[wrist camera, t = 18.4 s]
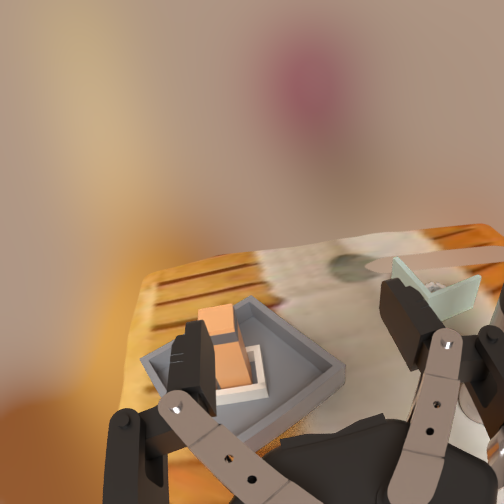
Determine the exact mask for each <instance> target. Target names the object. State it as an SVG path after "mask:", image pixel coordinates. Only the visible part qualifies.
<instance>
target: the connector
mask: <svg viewBox="0 0 504 504" xmlns="http://www.w3.org/2000/svg"><path fill="white" fill-rule="evenodd" d="M198 320H204V322H205V325H206V327H207V330H208V332H209V335H210V338H211V340H212V343H213V346H214V351H215V375H216V379H217V381H218V383H219V385H220V387H221V389H227V388H234V387H240V386H246V385H252V384H253V380H252V371H251V365H250V362H249V358H248V355H247V352H246V348H245V345H244V342H243V338H242V335H241V332H240V328H239V325H238V321H237V315H236V311H235V308H234V307H233V304H226V305H221V306H215V307H210V308H204V309H199V310H198Z"/></svg>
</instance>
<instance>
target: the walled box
mask: <svg viewBox="0 0 504 504" xmlns="http://www.w3.org/2000/svg"><path fill="white" fill-rule="evenodd" d="M233 307H234V308H235V311H236V315H237V321H238V325H239V328H240V332H241V335H242V338H243V342H244V345H245V348H246V352H247V355H248V358H249V362H250V365H251V371H252V380H253V384H252V385H246V386H240V387H234V388H227V389H221V387H220V385H219V383H218V381H217V379H216V410H217V417H212V418H213V419H214V420H215V421H216V422H217V423H219V424H222V425H224V426H225V427H226V428H227V429H228V430H230V431H231V432H232V433H233V434H234V435H235V436H236V437H237V438H238V439H240V440H241V441H242V442H243V443H244V444H245V445H246V446H248V447H249V448H250V449H251V450H252V451H253V452H256V451H258V450H259V449H261V448H262V447H264V446H265V445H267V444H268V443H269V442H271V441H272V440H274V439H275V438H276V437H278V436H279V435H281V434H282V433H283V432H285V431H286V430H287V429H289V428H290V427H291V426H293V425H294V424H295V423H297V422H298V421H299V420H301V419H302V418H303V417H305V416H306V415H307V414H308V413H310V412H311V411H312V410H313V409H315V408H316V407H317V406H318V405H320V404H321V403H322V402H323V401H324V400H326V399H327V398H328V397H329V396H330V395H332V394H333V393H334V392H335V391H336V390H338V389H339V388H340V387H341V386H342V385H343V384H344V383H345V368H346V365H345V364H344V363H342V362H341V361H339V360H338V359H337V358H335V357H334V356H332V355H331V354H330V353H328V352H327V351H326V350H324V349H323V348H321V347H320V346H319V345H317V344H316V343H315V342H313V341H312V340H310V339H309V338H308V337H306V336H305V335H304V334H302V333H301V332H300V331H298V330H297V329H295V328H294V327H293V326H291V325H290V324H289V323H287V322H286V321H285V320H283V319H282V318H281V317H279V316H278V315H277V314H275V313H274V312H273V311H271V310H270V309H269V308H267V307H266V306H265V305H263V304H262V303H261V302H259V301H258V300H257V299H255V298H254V297H253V296H249V297H247V298H245V299H244V300H242V301H240V302H239V303H237V304H235V305H234V306H233ZM183 335H185V334H183ZM174 340H175V339H174ZM174 340H173V341H171V342H169V343H167V344H166V345H164V346H162V347H160V348H158V349H157V350H155V351H153V352H151V353H149V354H148V355H146V356H144V357H142V358H140V361H141V363H142V365H143V366H144V368H145V370H146V372H147V374H148V375H149V377H150V379H151V381H152V383H153V384H154V386H155V388H156V389H157V391H158V393H159V395H160V396H161V398H162V397H163V396H164V395H165V394H166V392H167V384H168V374H169V364H170V356H171V347H172V344H173V342H174Z"/></svg>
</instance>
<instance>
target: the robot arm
mask: <svg viewBox="0 0 504 504" xmlns="http://www.w3.org/2000/svg"><path fill="white" fill-rule="evenodd" d="M379 309H380V315H381V318H382V320H383V322H384V324H385V325H386V327H387V329H388V331H389V333H390V334H391V336H392V338H393V340H394V342H395V343H396V345H397V347H398V349H399V351H400V353H401V354H402V356H403V358H404V360H405V362H406V364H407V366H408V368H409V370H410V372H411V371H414V370H417V369H419V370H420V372H421V374H420V377H419V381H418V385H417V389H416V392H415V396H414V399H413V402H412V406H411V409H410V412H409V415H408V417H407V420H406V421H402V420H397V419H385V417H384V415H383V413H381V414H378V415H375V416H372V417H369V418H365V419H362V420H359V421H357V422H355V423H353V424H352V425H350V426H348V427H346V428H344V429H342V430H340V431H338V432H336V433H333V434H304V435H299V436H294V437H289V438H284V439H280V442H281V446H279V447H277V448H275V449H273V450H271V451H270V452H268V453H267V454H265V455H264V456H263V457H262V458H260V457H259V456H258V455H257V454H256V453H255V452H253V451H252V450H251V449H250V448H249V447H248V446H246V445H245V444H244V443H243V442H242V441H241V440H240V439H238V438H237V437H236V436H235V435H234V434H233V433H232V432H231V431H230V430H228V429H227V428H226V427H225V426H224V425H222V424H219V423H217V422H216V421H215V420H214V419H213V418H212V417H217V410H216V375H215V351H214V346H213V343H212V340H211V338H210V335H209V332H208V330H207V327H206V325H205V322H204V320H197V321H191V322H187V323H186V327H185V335H178V336H177V337H176V339H175V340H174V342H173V344H172V347H171V356H170V364H169V374H168V384H167V392H166V394H165V395H164V396H163V397H162V398H161V399H160V401H159V403H158V405H157V406H155V407H153V408H151V409H148V410H145V411H143V412H140V413H137V412H136V411H135V410H133V409H130V408H125V409H121V410H119V411H117V412H116V413H115V414H114V415H113V416H112V418H111V419H110V423H109V431H108V439H107V449H106V460H105V471H104V485H103V486H104V487H103V504H169V487H168V453H171V452H174V451H176V450H179V449H182V448H184V447H188V448H189V449H190V451H191V452H192V453H193V454H194V455H195V456H196V457H197V458H198V459H199V460H200V461H201V462H202V464H203V465H204V466H205V467H206V468H207V469H208V470H209V471H210V472H211V473H212V474H213V475H214V476H215V477H216V478H217V479H218V480H219V481H220V482H221V483H222V484H223V485H224V486H225V487H226V488H227V489H228V490H229V491H230V492H231V493H232V494H233V495H234V497H233V498H232V500H231V501H230V502H229V504H496V502H497V494H498V491H499V490H501V489H503V488H504V284H503V287H502V290H501V293H500V297H499V300H498V302H497V305H496V308H495V311H494V314H493V316H492V319H491V322H490V324H489V325H486V326H484V327H482V328H481V329H480V331H479V333H478V335H471V336H461V335H460V334H459V333H458V332H457V331H455V330H453V329H450V328H445V326H444V325H443V323H442V322H441V321H440V319H439V318H438V316H437V315H436V314H435V312H434V311H433V309H432V308H431V307H429V304H428V303H427V301H426V300H425V299H424V297H423V296H422V295H421V293H420V292H419V291H418V290H416V289H415V288H413V287H412V286H407V287H405V285H404V284H403V283H402V281H401V280H400V279H399V278H393V279H389V280H386V281H383V282H382V284H381V294H380V306H379ZM460 383H463V384H462V386H461V388H460ZM459 388H460V392H459ZM458 393H459V402H460V406H461V408H462V410H463V412H464V413H465V414H466V415H467V417H469V418H470V419H471V420H473V421H475V422H477V423H481V424H484V426H485V429H486V431H487V433H488V435H489V438H490V441H489V443H488V446H487V455H488V456H487V459H488V463H487V462H485V461H483V460H481V459H479V458H477V457H475V456H473V455H471V454H469V453H467V452H465V451H463V450H461V449H459V448H457V447H455V446H453V445H451V444H449V443H448V440H449V436H450V432H451V427H452V423H453V419H454V414H455V409H456V404H457V399H458Z"/></svg>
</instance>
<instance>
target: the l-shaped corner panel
mask: <svg viewBox="0 0 504 504" xmlns="http://www.w3.org/2000/svg"><path fill="white" fill-rule="evenodd" d="M393 278H399V279H400V280H401V281H402V283H403V284H404V285H405V287H407V286H412V287H413V288H415V289H416V290H418V291H419V292H420V293H421V295H422V296H423V297H424V299H425V300H426V301H427V303H428V304H429V307H431V308H432V309H433V311H434V312H435V314H436V315H437V316H438V318H439V319H440V321H444V320H446V319H448V318H451V317H453V316H455V315H458V314H460V313H462V312H464V311H466V310H469V309H471V308H473V305H474V302H475V298H476V295H477V292H478V288H479V285H480V281H481V276H480V275H479V274H478V275H475V276H473V277H471V278H468V279H466V280H463V281H461V282H458V283H456V284H453V285H450V286H448V287H445V285H442V284H440V283H439V282H437V283H433V282H430V283H426V285H424V284H423V283H422V282H421V281H420V280H419V279H418V278H417V277H416V275H415V274H414V273H413V272H412V271H411V270H410V269H409V268H408V267H407V266H406V265H405V264H404V262H403V261H402V260H401V259H400V258H399V257H398V256H397V257H394V258H393V264H392V276H391V279H393ZM433 291H435V292H433ZM431 292H432V293H431Z"/></svg>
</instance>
